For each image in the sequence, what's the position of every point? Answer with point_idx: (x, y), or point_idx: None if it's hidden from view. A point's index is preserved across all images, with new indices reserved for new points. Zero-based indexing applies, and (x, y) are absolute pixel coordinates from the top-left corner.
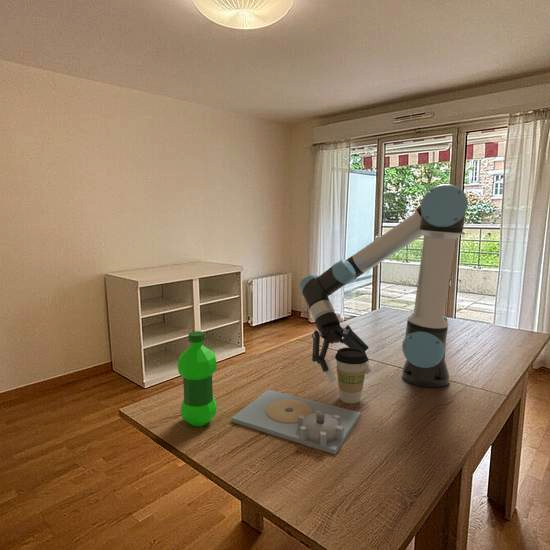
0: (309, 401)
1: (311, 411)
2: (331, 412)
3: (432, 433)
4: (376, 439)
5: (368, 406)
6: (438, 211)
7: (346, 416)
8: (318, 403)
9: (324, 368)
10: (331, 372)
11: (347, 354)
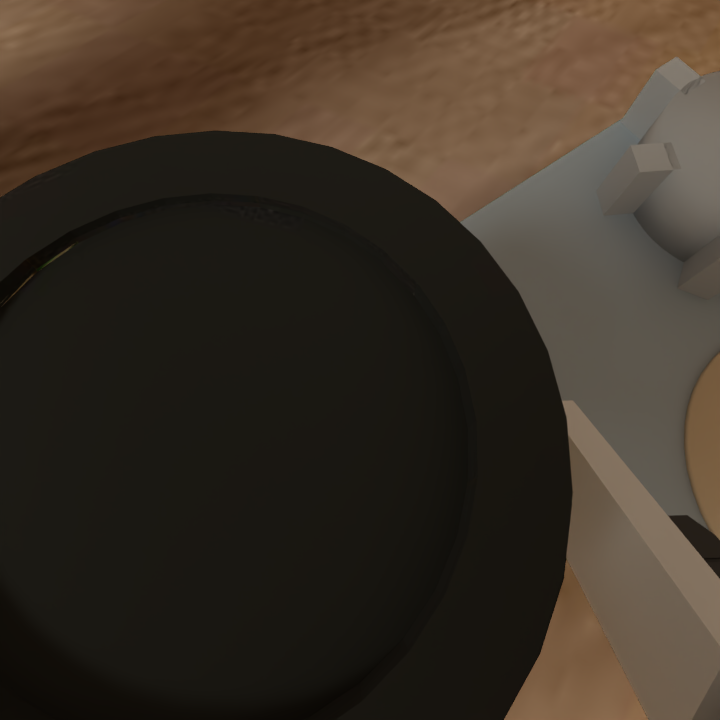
0: None
1: (702, 386)
2: (568, 336)
3: (185, 43)
4: (449, 101)
5: None
6: None
7: (503, 261)
8: None
9: (717, 540)
10: (609, 451)
11: (345, 411)
